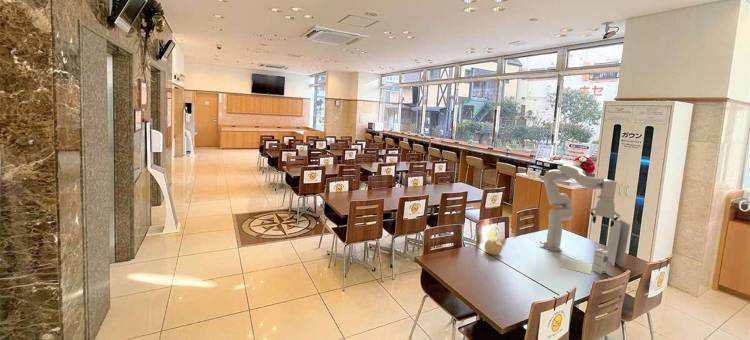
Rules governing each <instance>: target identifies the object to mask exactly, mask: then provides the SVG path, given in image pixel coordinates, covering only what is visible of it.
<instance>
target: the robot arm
mask: <svg viewBox="0 0 750 340" xmlns="http://www.w3.org/2000/svg"><path fill="white" fill-rule="evenodd" d="M570 179H573V180H574V181H576V183H578V184H579V185H580V186H582V187H584V188H585V189H588V190H600V195H597V196H596V197H597V202H596V205H595V207H593V208H589V209H588V210H589V212H590V215H591V216H592V220H591V221H592V223H593V224H595V223H596V221H597V216H598V217H602V218H603V217H604V218H609V219H611V220H612V221H610V224H609V225H610V226H609V228H610V227H612V226H614V221H615V220H618V219H620V217H621V214H619V213H618V212H617V211H615V208H616V207H615V206H616V202H614V201H615V195H616V189H617V181H616V180H612V179H607V178H604V177H590V176H588V175H587V173H586V171H585V170H584V169H583V168H582V166H580V165H579V164H578V163H564V164H562V165H561V166H560V168H559V169H550V170H547V171H546V172H545V173H544V174H543V184H544V185H545V190H546V195H547V201H548V204H549V205H550V206H553V207H554V208H551V209H549V210H548V226H547V227H548V228H547V234H546V235H547V236H546V240H539V243H540V244H542V245H543V248H544V249H546V250H548V251H552V252H562V250H563V248H562V247H561V241H562V236H563V235H562V234H563V229H564V227H563V223H562V221H570V220H571V219H572V218H573V213H574V212H573V208H572V207H573V206H572V202H571V199H570V197H569V196H568V194H567V193H565V192H564V193H563V192H560V189H559V186H558V184H557V183H556V182H566V181H568V180H570Z"/></svg>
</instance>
